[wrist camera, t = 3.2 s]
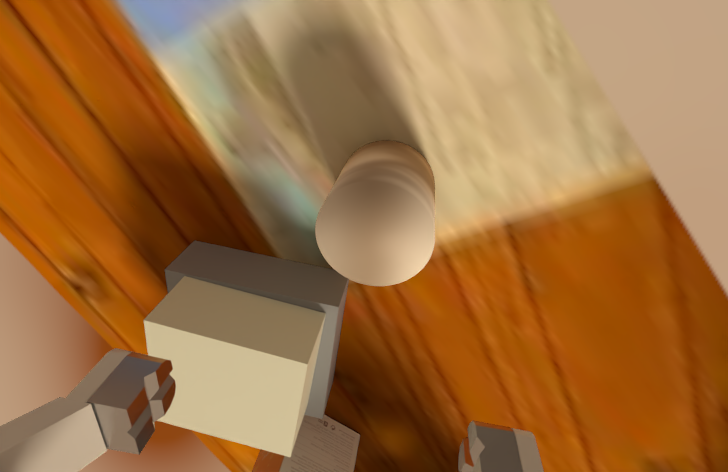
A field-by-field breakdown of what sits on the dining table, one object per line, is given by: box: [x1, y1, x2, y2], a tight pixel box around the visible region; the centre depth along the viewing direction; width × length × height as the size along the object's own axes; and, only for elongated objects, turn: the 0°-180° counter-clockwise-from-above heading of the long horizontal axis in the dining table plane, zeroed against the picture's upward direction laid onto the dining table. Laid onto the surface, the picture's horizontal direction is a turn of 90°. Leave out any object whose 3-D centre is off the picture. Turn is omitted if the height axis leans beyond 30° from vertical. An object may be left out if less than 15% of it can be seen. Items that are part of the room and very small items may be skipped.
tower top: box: [144, 276, 326, 457], centre depth 25 cm, size 9×9×4 cm
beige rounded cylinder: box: [315, 140, 435, 286], centre depth 21 cm, size 6×6×6 cm
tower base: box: [165, 240, 349, 419], centre depth 29 cm, size 11×11×4 cm
